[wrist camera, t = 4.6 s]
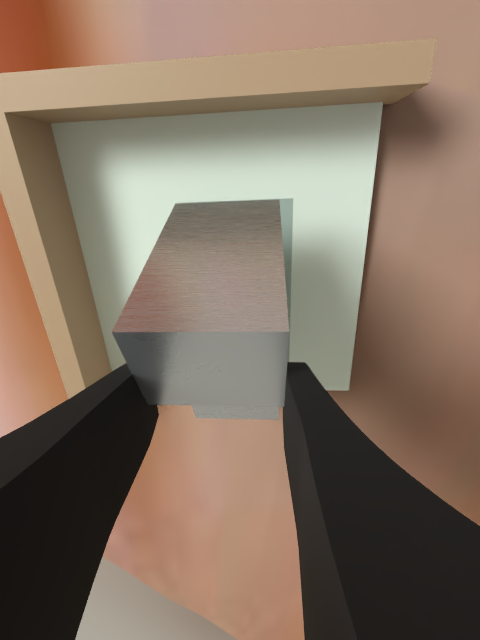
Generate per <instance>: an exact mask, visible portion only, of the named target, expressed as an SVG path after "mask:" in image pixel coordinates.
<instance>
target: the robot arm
mask: <svg viewBox="0 0 480 640" xmlns="http://www.w3.org/2000/svg"><path fill="white" fill-rule="evenodd" d="M158 416H159V413H158V408H157V405H147V403H146V401H145V399H144V397H143V395H142V393H141V391H140V389H139V386H138V384H137V382H136V380H135V378H134V377H133V375H132V373H131V371H130V369H129V367H128V365H127V363H125V364H124V365H122V366H120V367H118V368H117V369H115V370H114V371H112V372H110V373H109V374H107V375H106V376H104V377H103V378H101V379H99V380H98V381H96V382H95V383H93V384H92V385H90V386H89V387H87V388H85V389H84V390H82V391H81V392H79V393H78V394H76V395H74V396H73V397H71V398H70V399H68V400H66V401H65V402H63V403H61V404H60V405H58V406H56V407H55V408H53V409H51V410H50V411H48V412H46V413H45V414H43V415H41V416H40V417H38V418H36V419H34V420H33V421H31V422H29V423H27V424H26V425H24V426H22V427H20V428H18V429H16V430H14V431H13V432H11V433H9V434H7V435H5V436H3V437H1V438H0V640H75V638H76V635H77V631H78V628H79V625H80V622H81V619H82V615H83V612H84V609H85V606H86V603H87V600H88V596H89V594H90V591H91V588H92V584H93V582H94V578H95V576H96V573H97V570H98V567H99V564H100V561H101V559H102V556H103V553H104V550H105V547H106V544H107V541H108V539H109V536H110V533H111V531H112V529H113V526H114V524H115V521H116V519H117V517H118V514H119V512H120V510H121V508H122V506H123V503H124V501H125V499H126V497H127V495H128V492H129V490H130V488H131V486H132V484H133V481H134V479H135V477H136V475H137V473H138V470H139V468H140V466H141V464H142V461H143V459H144V457H145V455H146V452H147V450H148V448H149V445H150V442H151V439H152V436H153V433H154V430H155V426H156V423H157V419H158ZM283 431H284V450H285V457H286V463H287V470H288V477H289V483H290V490H291V496H292V503H293V509H294V516H295V522H296V529H297V538H298V546H299V560H300V575H301V589H302V604H303V619H304V635H305V640H480V526H479V525H477V524H476V523H474V522H473V521H471V520H470V519H468V518H467V517H466V516H464V515H463V514H461V513H460V512H459V511H457V510H456V509H454V508H453V507H452V506H450V505H449V504H447V503H446V502H445V501H443V500H442V499H441V498H439V497H438V496H437V495H435V494H434V493H433V492H432V491H430V490H429V489H428V488H426V487H425V486H424V485H422V484H421V483H420V482H419V481H417V480H416V479H415V478H413V477H412V476H411V475H410V474H408V473H407V472H406V471H405V470H403V469H402V468H401V467H400V466H399V465H397V464H396V463H395V462H394V461H393V460H392V459H391V458H389V457H388V456H387V455H386V454H385V453H384V452H383V451H382V450H380V449H379V448H378V447H377V446H376V445H375V444H374V443H373V442H372V441H371V440H370V439H369V438H368V437H367V436H366V435H365V434H364V433H363V432H362V431H361V430H360V429H359V428H358V427H357V426H356V425H355V424H354V423H353V422H352V420H351V419H350V418H349V417H348V416H347V415H346V414H345V413H344V412H343V410H342V409H341V408H340V407H339V406H338V405H337V403H336V402H335V401H334V400H333V399H332V397H331V396H330V395H329V394H328V392H327V391H326V390H325V389H324V387H323V386H322V385H321V383H320V382H319V380H318V379H317V378H316V376H315V375H314V373H313V372H312V370H311V369H310V367H309V366H308V365H307V364H306V363H305V362H288V363H287V376H286V385H285V404H284V407H283Z"/></svg>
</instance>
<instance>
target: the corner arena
mask: <svg viewBox="0 0 480 640" xmlns="http://www.w3.org/2000/svg"><path fill="white" fill-rule="evenodd" d="M436 42H437V38H432V39H420V40H408V41H395V42H383V43H370V44H358V45H346V46H333V47H321V48H308V49H296V50H284V51H271V52H259V53H247V54H234V55H222V56H209V57H197V58H185V59H172V60H160V61H147V62H135V63H123V64H110V65H98V66H85V67H73V68H61V69H48V70H36V71H24V72H11V73H0V191H1V194H2V197H3V200H4V204H5V207H6V210H7V213H8V216H9V219H10V222H11V225H12V228H13V231H14V234H15V237H16V240H17V243H18V246H19V249H20V252H21V255H22V259H23V262H24V265H25V268H26V271H27V274H28V277H29V280H30V283H31V286H32V289H33V292H34V295H35V298H36V301H37V304H38V307H39V311H40V314H41V317H42V320H43V323H44V326H45V329H46V332H47V335H48V338H49V341H50V344H51V347H52V350H53V353H54V356H55V359H56V363H57V366H58V369H59V372H60V375H61V378H62V381H63V384H64V387H65V390H66V393H67V396H68V399H70V398H71V397H73V396H74V395H76V394H78V393H79V392H81V391H82V390H84V389H85V388H87V387H89V386H90V385H92V384H93V383H95V382H96V381H98V380H99V379H101V378H103V377H104V376H106V375H107V374H109V373H110V372H112V371H114V370H115V369H117V368H118V367H120V366H122V365H124V364H125V363H126V361H125V359H124V357H123V355H122V353H121V351H120V349H119V347H118V345H117V343H116V340H115V338H114V336H113V334H112V330H113V328H114V326H115V324H116V322H117V320H118V318H119V316H120V314H121V312H122V310H123V308H124V306H125V304H126V302H127V300H128V298H129V296H130V294H131V292H132V290H133V288H134V286H135V284H136V282H137V280H138V278H139V276H140V274H141V272H142V270H143V268H144V266H145V264H146V262H147V260H148V258H149V256H150V254H151V252H152V250H153V248H154V246H155V244H156V242H157V240H158V238H159V235H160V233H161V231H162V229H163V227H164V225H165V223H166V221H167V219H168V217H169V215H170V213H171V211H172V209H173V207H174V205H175V203H199V202H224V201H249V200H274V199H279V201H280V214H281V227H282V241H283V254H284V268H285V281H286V294H287V308H288V321H289V345H288V362H305V363H306V364H307V365H308V366H309V367H310V369H311V370H312V372H313V373H314V375H315V376H316V378H317V379H318V380H319V382H320V383H321V385H322V386H323V387H324V389H325V390H342V391H349V384H350V376H351V368H352V359H353V351H354V343H355V334H356V326H357V317H358V309H359V301H360V292H361V284H362V276H363V267H364V259H365V251H366V242H367V234H368V225H369V217H370V209H371V200H372V192H373V184H374V175H375V167H376V159H377V150H378V142H379V133H380V125H381V117H382V108H383V104H393V103H395V102H397V101H399V100H400V99H402V98H404V97H406V96H408V95H409V94H411V93H413V92H415V91H416V90H418V89H420V88H422V87H423V86H425V85H427V84H429V83H430V78H431V72H432V66H433V60H434V54H435V48H436Z"/></svg>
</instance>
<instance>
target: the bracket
mask: <svg viewBox="0 0 480 640" xmlns="http://www.w3.org/2000/svg"><path fill="white" fill-rule="evenodd" d="M112 334H113V336H114V338H115V340H116V343H117V345H118V347H119V349H120V351H121V353H122V355H123V357H124V359H125V361H126V363H127V365H128V367H129V369H130V371H131V373H132V375H133V377H134V378H135V380H136V382H137V384H138V386H139V389H140V391H141V393H142V395H143V397H144V399H145V401H146V403H147V405H192V407H193V410H194V413H195V416H196V418H223V419H272V420H278V417H279V407H284V404H285V385H286V376H287V363H288V345H289V321H288V308H287V294H286V281H285V268H284V254H283V241H282V227H281V214H280V201H279V199H274V200H249V201H224V202H199V203H175V205H174V207H173V209H172V211H171V213H170V215H169V217H168V219H167V221H166V223H165V225H164V227H163V229H162V231H161V233H160V235H159V238H158V240H157V242H156V244H155V246H154V248H153V250H152V252H151V254H150V256H149V258H148V260H147V262H146V264H145V266H144V268H143V270H142V272H141V274H140V276H139V278H138V280H137V282H136V284H135V286H134V288H133V290H132V292H131V294H130V296H129V298H128V300H127V302H126V304H125V306H124V308H123V310H122V312H121V314H120V316H119V318H118V320H117V322H116V324H115V326H114V328H113V330H112Z"/></svg>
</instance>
